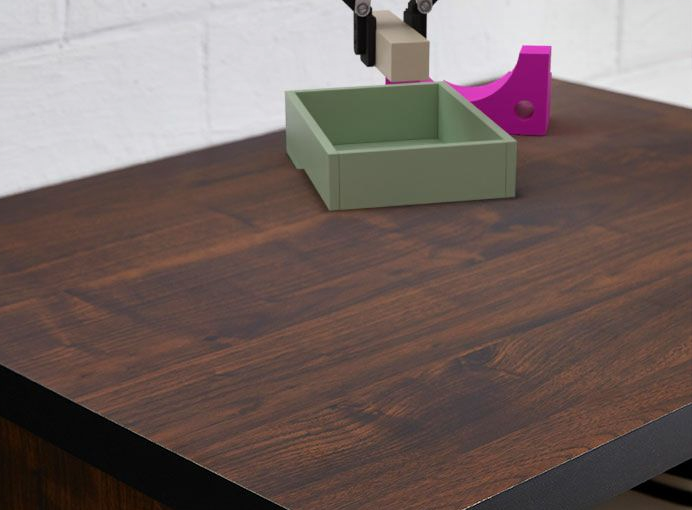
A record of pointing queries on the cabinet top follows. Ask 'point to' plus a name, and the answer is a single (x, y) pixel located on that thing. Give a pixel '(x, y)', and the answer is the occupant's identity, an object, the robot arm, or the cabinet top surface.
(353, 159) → the bin
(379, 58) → the long cream beam
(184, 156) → the cabinet top surface
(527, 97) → the toy block
